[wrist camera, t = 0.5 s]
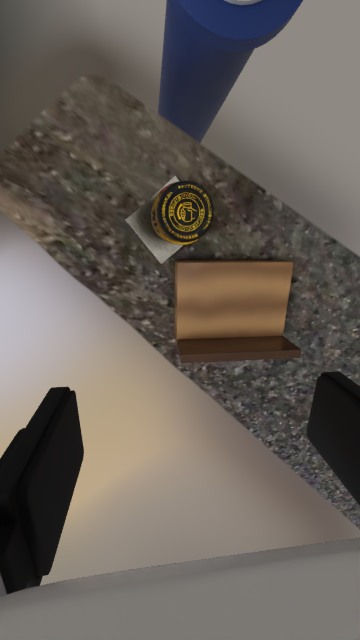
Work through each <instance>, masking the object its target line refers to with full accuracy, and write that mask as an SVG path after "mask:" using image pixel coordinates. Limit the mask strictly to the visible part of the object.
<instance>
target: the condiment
mask: <svg viewBox="0 0 360 640" xmlns="http://www.w3.org/2000/svg"><path fill="white" fill-rule="evenodd" d="M212 220H213V205H212V200H211V197H210V196H209V194H208V192H207V191H206V190H205V189H204V188H203V187H202V186H200V185H198V184H197V183H194V182H192V181H179V180H178V179H177V177H176V176H175V177H174V178H172V179H171V180H170V181H169V182H168V183H167V184H166V185H165V186H163V187H162V188H161V189H160V190H159V191H158V192H157V193H156V194H154V195H153V196H152V197H151V198H150V199H149V200H148V201H146V202H145V203H144V204H143V205H142V206H141V207H140V208H139V209H137V210H136V211H135V212H134V213H133V214H132V215H131V216H129V217H128V218H127V219H126V222H127V223H128V224H129V225H130V226H131V228H132V229H133V230H134V231H135V233H136V234H137V235H138V236H139V237H140V239H141V240H142V241H143V242H144V243H145V245H146V246H147V247H148V248H149V250H150V251H151V252H152V253H153V254H154V256H155V257H156V258H157V259H158V261H159V262H160V263H161V264H162V263H163V262H164V261H165V260H167V259H168V258H169V257H170V256H171V255H173V254H174V253H175V252H176V251H177V250H179V249H180V248H181V247H182V246H183V245H187V244H191V243H193V242H195V241H197V240H198V239H199V238H201V237H202V236H203V235H204V234H205V233H206V232H207V230H208V229H209V226H210V225H211V222H212Z"/></svg>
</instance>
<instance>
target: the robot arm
mask: <svg viewBox="0 0 360 640" xmlns="http://www.w3.org/2000/svg"><path fill="white" fill-rule="evenodd" d="M224 1H226V2H228V3H231V4H236V5H251V4H254V3H257V2H260V1H262V0H224ZM307 436H308V439H309V440H310V442H311V443H312V444H313V446H314V447H315V448H316V450H317V451H318V452H319V454H320V455H321V456H322V457H323V459H324V460H325V461H326V463H327V464H328V465H329V466H330V468H331V469H332V470H333V472H334V473H335V474H336V476H337V477H338V478H339V479H340V481H341V482H342V483H343V485H344V486H345V487H346V488H347V490H348V491H349V492H350V494H351V495H352V496H353V497H354V499H355V500H356V501H357V503H358V504H359V505H360V386H359V385H357V384H356V383H354V382H353V381H352V380H350V379H349V378H348V377H346V376H345V375H343V374H342V373H340V372H324V373H322V374H321V376H319V377H318V379H317V383H316V387H315V392H314V397H313V402H312V407H311V412H310V417H309V422H308V427H307ZM83 454H84V449H83V442H82V435H81V428H80V421H79V414H78V407H77V401H76V394H75V391H70V388H69V387H56V388H51V389H50V390H49V391H48V393H47V395H46V396H45V398H44V399H43V401H42V403H41V404H40V406H39V407H38V409H37V410H36V412H35V414H34V415H33V417H32V418H31V420H30V421H29V423H28V425H27V426H26V428H23V429H21V430H19V432H18V433H17V434H16V436H15V437H14V439H13V440H12V442H11V443H10V445H9V446H8V448H7V449H6V451H5V452H4V454H3V455H2V457H1V459H0V640H360V538H356V539H348V540H341V541H333V542H325V543H318V544H311V545H303V546H296V547H288V548H281V549H273V550H266V551H259V552H252V553H245V554H237V555H230V556H223V557H216V558H209V559H202V560H195V561H188V562H181V563H173V564H167V565H159V566H152V567H145V568H138V569H131V570H126V571H119V572H114V573H107V574H101V575H94V576H89V577H82V578H77V579H70V580H64V581H59V582H55V583H50V584H46V585H41V586H40V583H41V580H42V576H45V575H48V574H49V572H50V570H51V567H52V564H53V561H54V557H55V554H56V551H57V547H58V544H59V540H60V537H61V533H62V530H63V526H64V523H65V519H66V516H67V513H68V509H69V506H70V502H71V499H72V495H73V491H74V488H75V485H76V482H77V478H78V475H79V471H80V468H81V464H82V461H83Z"/></svg>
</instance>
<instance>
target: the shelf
mask: <svg viewBox="0 0 360 640" xmlns="http://www.w3.org/2000/svg"><path fill="white" fill-rule="evenodd" d="M293 264H294V262H290V261H285V260H175V341H176V345H177V349H178V353H179V357H180V361H181V363H197V362H218V361H240V360H261V359H283V358H300V354H301V349H299V348H298V347H297V346H295V345H294V344H293V343H292V342H290V341H289V340H288V339H286V338H285V337H284V336H283V331H284V324H285V317H286V310H287V304H288V297H289V290H290V284H291V277H292V270H293Z"/></svg>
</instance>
